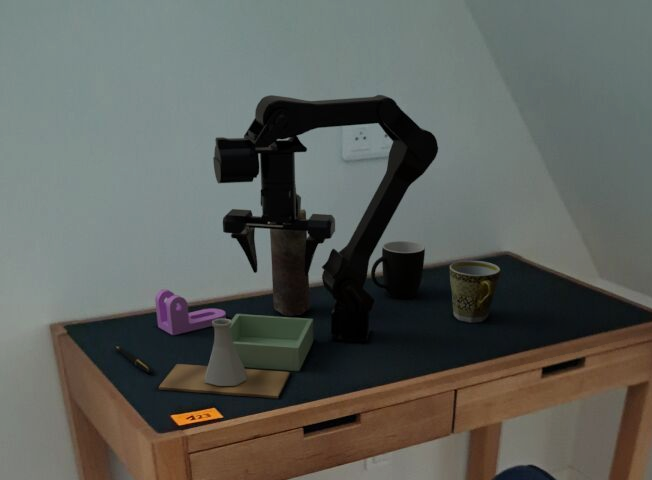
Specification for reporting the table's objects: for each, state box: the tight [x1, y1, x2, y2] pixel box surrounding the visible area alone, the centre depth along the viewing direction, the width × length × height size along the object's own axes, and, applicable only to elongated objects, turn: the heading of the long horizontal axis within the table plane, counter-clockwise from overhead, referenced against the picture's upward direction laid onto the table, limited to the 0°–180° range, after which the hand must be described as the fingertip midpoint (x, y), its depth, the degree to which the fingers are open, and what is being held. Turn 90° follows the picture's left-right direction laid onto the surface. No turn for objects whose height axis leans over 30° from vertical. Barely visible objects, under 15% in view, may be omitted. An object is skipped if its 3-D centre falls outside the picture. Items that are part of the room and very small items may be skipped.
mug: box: [370, 240, 426, 300], centre depth 183 cm, size 12×9×10 cm
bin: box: [230, 313, 314, 372], centre depth 155 cm, size 15×15×4 cm
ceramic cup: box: [449, 260, 501, 324], centre depth 171 cm, size 13×10×10 cm
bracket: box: [154, 288, 227, 336], centre depth 166 cm, size 13×6×7 cm, turn 130°
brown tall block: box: [268, 208, 311, 317], centre depth 170 cm, size 8×7×20 cm
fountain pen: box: [116, 345, 152, 374], centre depth 151 cm, size 14×1×2 cm, turn 38°
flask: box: [205, 317, 246, 386], centre depth 142 cm, size 7×7×10 cm
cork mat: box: [158, 363, 291, 399], centre depth 145 cm, size 20×10×1 cm, turn 83°
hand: (281, 273), depth 153 cm, fingers open, 9 cm apart
